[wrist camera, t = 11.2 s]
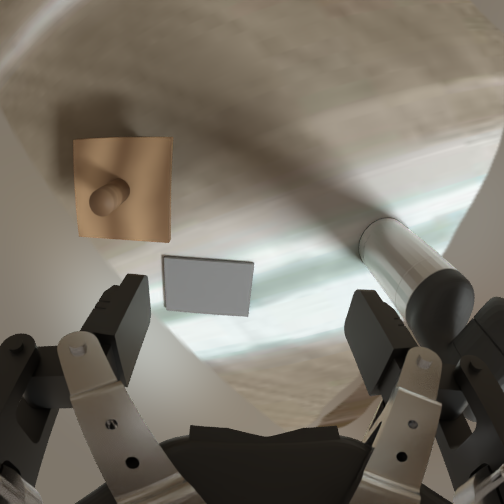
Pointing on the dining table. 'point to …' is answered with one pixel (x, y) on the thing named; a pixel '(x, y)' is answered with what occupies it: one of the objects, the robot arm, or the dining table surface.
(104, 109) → the dining table surface
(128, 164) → the lid
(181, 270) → the mat
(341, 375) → the dining table surface
